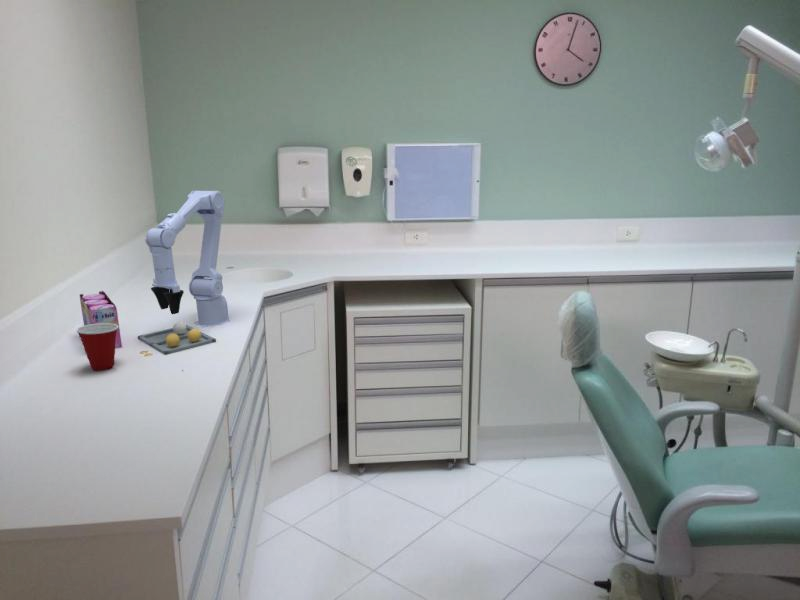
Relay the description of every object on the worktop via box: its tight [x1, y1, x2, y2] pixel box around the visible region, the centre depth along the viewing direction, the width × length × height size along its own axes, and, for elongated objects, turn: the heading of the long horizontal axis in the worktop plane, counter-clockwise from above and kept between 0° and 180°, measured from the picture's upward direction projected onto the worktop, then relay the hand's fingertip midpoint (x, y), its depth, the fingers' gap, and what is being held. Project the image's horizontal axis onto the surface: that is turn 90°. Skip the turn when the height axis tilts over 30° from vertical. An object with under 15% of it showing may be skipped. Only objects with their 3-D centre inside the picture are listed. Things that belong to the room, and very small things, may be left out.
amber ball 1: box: [166, 334, 180, 347], centre depth 205 cm, size 4×4×4 cm
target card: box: [139, 350, 154, 357], centre depth 200 cm, size 5×8×1 cm, turn 41°
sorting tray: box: [137, 324, 217, 356], centre depth 211 cm, size 16×21×1 cm
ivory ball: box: [172, 321, 187, 335], centre depth 216 cm, size 4×4×4 cm
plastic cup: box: [76, 323, 120, 372], centre depth 190 cm, size 11×11×12 cm
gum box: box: [79, 290, 123, 349], centre depth 213 cm, size 24×8×14 cm, turn 31°
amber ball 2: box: [187, 328, 201, 342], centre depth 209 cm, size 4×4×4 cm
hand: (169, 311), depth 209 cm, fingers open, 7 cm apart
